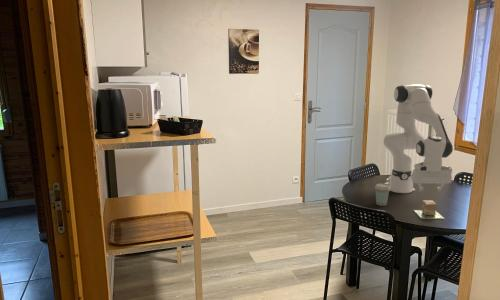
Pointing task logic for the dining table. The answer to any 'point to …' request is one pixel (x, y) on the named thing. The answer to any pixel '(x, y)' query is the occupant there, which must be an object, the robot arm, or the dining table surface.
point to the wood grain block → (429, 207)
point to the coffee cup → (382, 194)
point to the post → (423, 216)
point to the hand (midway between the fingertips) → (430, 190)
